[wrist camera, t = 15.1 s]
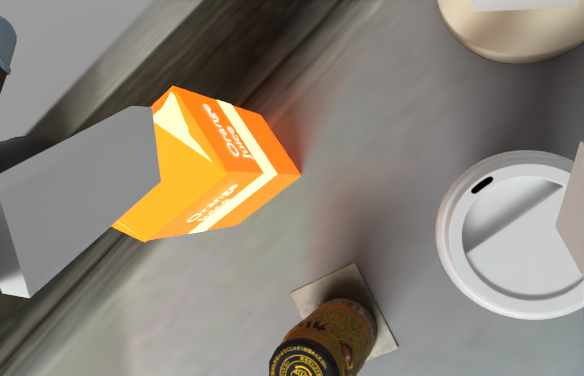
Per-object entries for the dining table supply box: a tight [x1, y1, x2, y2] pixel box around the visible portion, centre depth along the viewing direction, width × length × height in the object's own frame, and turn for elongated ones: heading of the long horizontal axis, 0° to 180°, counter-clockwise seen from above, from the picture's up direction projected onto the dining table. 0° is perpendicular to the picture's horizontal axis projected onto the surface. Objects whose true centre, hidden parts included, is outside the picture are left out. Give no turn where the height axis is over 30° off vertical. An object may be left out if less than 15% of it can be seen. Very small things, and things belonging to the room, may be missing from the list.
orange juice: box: [112, 86, 301, 242], centre depth 38 cm, size 8×9×20 cm
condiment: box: [269, 263, 398, 376], centre depth 38 cm, size 7×8×12 cm
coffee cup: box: [435, 150, 584, 320], centre depth 31 cm, size 10×10×15 cm
